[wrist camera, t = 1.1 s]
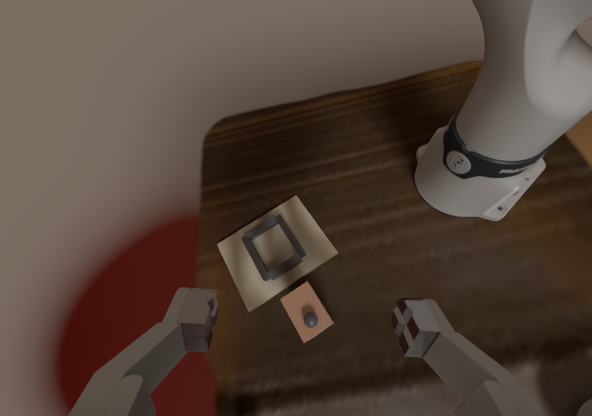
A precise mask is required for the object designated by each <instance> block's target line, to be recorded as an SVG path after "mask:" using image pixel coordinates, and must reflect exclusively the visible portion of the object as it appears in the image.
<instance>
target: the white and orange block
mask: <svg viewBox="0 0 592 416" xmlns="http://www.w3.org/2000/svg"><path fill="white" fill-rule="evenodd" d="M280 300H281V302H282V304H283V306H284V307H285V309H286V311H287V313H288V315H289V317H290V318H291V320H292V322H293V324H294V326H295V328H296V329H297V331H298V333H299V335H300V337H301V339H302V340H303V342H304V343H305V342H307V341H308V340H310V339H312V338H313V337H315V336H316V335H318V334H319V333H320V332H322V331H323V330H325V329H326V328H328V327H329V326H330V325H332V324H333V323H334V322H333V320H332V319H331V317H330V315H329V314H328V312H327V311H326V309H325V307H324V306H323V304H322V303H321V301H320V299H319V298H318V296H317V295H316V293H315V291H314V290H313V289H312V287H311V286H310V284H309V283H308V281H307V282H305V283H304V284H302V285H301V286H299V287H298V288H296V289H295V290H293V291H292V292H291V293H289V294H288V295H286V296H285V297H283V298H282V299H280Z"/></svg>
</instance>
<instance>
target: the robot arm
mask: <svg viewBox="0 0 592 416" xmlns="http://www.w3.org/2000/svg"><path fill="white" fill-rule="evenodd" d="M472 1H473V3H474V5H475V7H476V9H477V11H478V14H479V16H480V19H481V22H482V26H483V30H484V38H485V53H484V60H483V64H482V67H481V70H480V73H479V75H478V77H477V80H476V82H475V84H474V86H473V88H472V90H471V92H470V94H469V96H468V98H467V100H466V102H465V104H464V105H463V106H462V107H461V108H460V109H459V110H458V111H457V112H456V113H455V115H454V116H453V117H452V118H451V120H450V121H449V123H448V125H447V126H445V127H443V128H439V129H438V130H437V131H436V133H435V134H434V136H433V137H432V139H431V140H430V142H429V143H428V144H426V145H423V146H421V147H419V148H418V150H417V151H416V157H417V161H418V164H417V168H416V171H415V184H416V187H417V190H418V192H419V193H420V195H421V196H422V197H423V199H424V200H425V201H426V202H427V203H429V204H430V205H431V206H432V207H434V208H436V209H437V210H439V211H441V212H444V213H447V214H450V215H454V216H461V217H472V216H474V217H481V218H484V219H487V220H491V221H499V220H501V219H502V218H503V217H504V216H505V215H506V214H507V212H508V211H509V210H510V209H511V208H512V207H513V205H514V204H515V203H516V202H517V201H518V199H519V198H520V197H521V196H522V195H523V194H524V192H525V191H526V190H527V189H528V188H529V186H530V185H531V184H532V183H533V182H534V180H535V179H536V178H537V177H538V176H539V175H540V173H541V172H542V171H543V170H544V168H545V167H546V165H545V163H544V161H543V159H542V157H543V156H544V154H545V153H546V152H547V151H548V149H549V148H550V146H551V144H552V143H553V142H554V141H555V140H556V139H558V138H559V137H560V136H561V135H562V134H564V133H565V132H566V131H567V130H568V129H570V128H571V127H572V126H573V125H574V124H576V123H577V122H578V121H579V120H580V119H582V118H583V117H584V116H585V115H586V114H587V113H589V112H590V111H591V110H592V47H591V46H590V45H589V44H588V43H586V41H584V40H583V39H582V38H581V36H580V35H579V34H578V32H577V30H576V28H577V27H578V26H579V25H580V24H581V23H583V22H585V21H588V20H592V0H472ZM498 208H500V210H498ZM217 296H218V295H217V290H211V289H197V288H179V289H178V290H177V292H176V294H175V296H174V298H173V300H172V302H171V305H170V307H169V309H168V311H167V313H166V315H165V317H164V319H163V321H162V323H157V324H156V325H155V326H153V327H152V328H151V329H150V330H148V331H147V332H146V333H145V334H143V335H142V336H141V337H140V338H139V339H137V340H136V341H134V342H133V343H132V344H131V345H129V346H128V347H127V348H126V349H124V350H123V351H122V352H121V353H120V354H118V355H117V356H116V357H114V358H113V359H112V360H111V361H109V362H108V363H107V364H106V365H104V366H103V367H102V368H100V369H99V370H98V371H97V372H95V373H94V375H93V376H92V378H91V380H90V381H89V383H88V385H87V386H86V388H85V389H84V391H83V393H82V394H81V396H80V398H79V399H78V401H77V402H76V404H75V406H74V407H73V409H72V411H71V412H70V414H69V415H68V416H155V414H156V410H155V408H154V405H153V403H152V400H151V398H150V395H149V394H150V393H151V392H152V391H153V390H154V389H155V387H157V385H158V384H159V383H160V382H161V381H162V380H163V379H164V378H165V376H166V375H167V374H168V373H169V372H170V371H171V370H172V369H173V367H174V366H175V365H176V364H177V363H178V362H179V361H180V359H181V358H182V357H183V356H184V355H185V354H186V351H208V350H209V346H210V343H211V339H212V328H213V327H214V326H215V324H216V320H217V315H218V302H217V301H216V299H217ZM396 304H397V306H398V307H397V308H395V309H394V310H393V311H392V314H391V323H392V327H393V329H394V331H395V332H396V333H397V334H398V335H399V339H398V342H399V344H400V347H401V349H402V352H403V354H404V356H413V357H423V359H424V360H425V361H426V362H427V363H428V364H429V365H430V367H431V368H432V369H433V370H434V371H435V372H436V373H437V374H438V375H439V376H440V378H441V379H442V380H443V381H444V382H445V383H446V384H447V385H448V386H449V387H450V389H451V390H452V391H453V392H454V393H455V394H456V395H457V396H458V397H459V398H460V400H461V401H462V403H461V404H460V405H459V406H458V407H457V408H456V410H455V414H456V416H545V414H544V413H543V412H542V410H541V409H540V408H539V406H538V405H537V403H536V402H535V401H534V399H533V398H532V397H531V395H530V394H529V393H528V391H527V390H526V388H525V387H524V386H523V384H522V383H521V382H520V380H519V379H517V378H516V377H515V376H513V375H512V374H511V373H509V372H508V371H507V370H506V369H504V368H503V367H502V366H500V365H499V364H498V363H497V362H495V361H494V360H493V359H491V358H490V357H489V356H488V355H486V354H485V353H484V352H482V351H481V350H480V349H479V348H477V347H476V346H475V345H473V344H472V343H471V342H469V341H468V340H467V339H466V338H464V337H463V336H462V335H460V334H459V333H455V331H454V330H453V328H452V327H451V325H450V324H449V322H448V320H447V319H446V317H445V316H444V314H443V313H442V311H441V309H440V308H439V306H438V305H437V303H436V302H435V301H434V300H433V299H414V298H400V299H398V301H397V303H396Z"/></svg>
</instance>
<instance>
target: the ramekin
mask: <svg viewBox="0 0 592 416" xmlns="http://www.w3.org/2000/svg"><path fill="white" fill-rule="evenodd" d="M576 416H592V399H590V400H587V401H586V402H585V403H584V404H583V405H582V406H581V407H580V409H579V410H578V413H577V415H576Z"/></svg>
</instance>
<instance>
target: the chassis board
mask: <svg viewBox="0 0 592 416" xmlns="http://www.w3.org/2000/svg"><path fill="white" fill-rule="evenodd" d="M217 246H218V248H219V250H220V252H221V254H222V256H223V258H224V260H225V263H226V265H227V267H228V269H229V271H230V273H231V275H232V277H233V279H234V282H235V284H236V286H237V288H238V290H239V292H240V294H241V296H242V299H243V301H244V303H245V305H246V307H247V309H248V311H249V312H251V311H252V310H254V309H255V308H257V307H258V306H260V305H261V304H263V303H264V302H266V301H267V300H269V299H270V298H272V297H273V296H275V295H276V294H278V293H279V292H281V291H282V290H284V289H285V288H287V287H288V286H290V285H291V284H293V283H294V282H296V281H297V280H299V279H300V278H302V277H303V276H305V275H306V274H308V273H309V272H311V271H312V270H314V269H315V268H317V267H318V266H320V265H321V264H323V263H324V262H326V261H327V260H329V259H330V258H332V257H333V256H335V255H336V254H338V252H337V251H336V249H335V248H334V247H333V245H332V244H331V242H330V241H329V240H328V238H327V237H326V235H325V234H324V233H323V231H322V230H321V229H320V227H319V226H318V224H317V223H316V222H315V220H314V219H313V218H312V216H311V215H310V213H309V212H308V211H307V209H306V208H305V207H304V205H303V204H302V202H301V201H300V200H299V198H298V197H297V196H294V197H292V198H291V199H289V200H288V201H286V202H284V203H283V204H281V205H279V206H278V207H276V208H275V209H273V210H271V211H270V212H268V213H267V214H265V215H263V216H262V217H260V218H258V219H257V220H255V221H254V222H252V223H250V224H249V225H247V226H246V227H244V228H242V229H241V230H239V231H238V232H236V233H234V234H233V235H231V236H229V237H228V238H226V239H225V240H223V241H221V242H220V243H218V244H217Z"/></svg>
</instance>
